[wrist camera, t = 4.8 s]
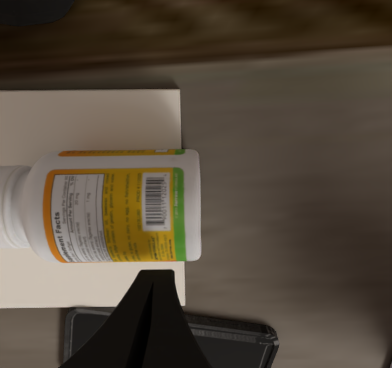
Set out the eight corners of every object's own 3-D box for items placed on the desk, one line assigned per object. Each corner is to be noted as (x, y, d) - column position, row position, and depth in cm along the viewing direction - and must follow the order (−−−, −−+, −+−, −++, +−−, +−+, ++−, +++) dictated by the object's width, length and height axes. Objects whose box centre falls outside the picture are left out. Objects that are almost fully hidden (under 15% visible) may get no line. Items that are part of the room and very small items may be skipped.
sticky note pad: (179, 88, 17) (179, 90, 16) (185, 300, 22) (184, 305, 22) (-94, 91, 17) (-102, 92, 16) (-21, 302, 22) (-25, 308, 22)
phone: (254, 406, 26) (62, 385, 24) (252, 392, 27) (67, 371, 25) (283, 334, 23) (65, 305, 21) (279, 321, 24) (71, 293, 22)
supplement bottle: (199, 203, 20) (38, 205, 20) (199, 126, 16) (2, 129, 16) (201, 283, 16) (-1, 286, 16) (201, 205, 12) (-62, 208, 12)
